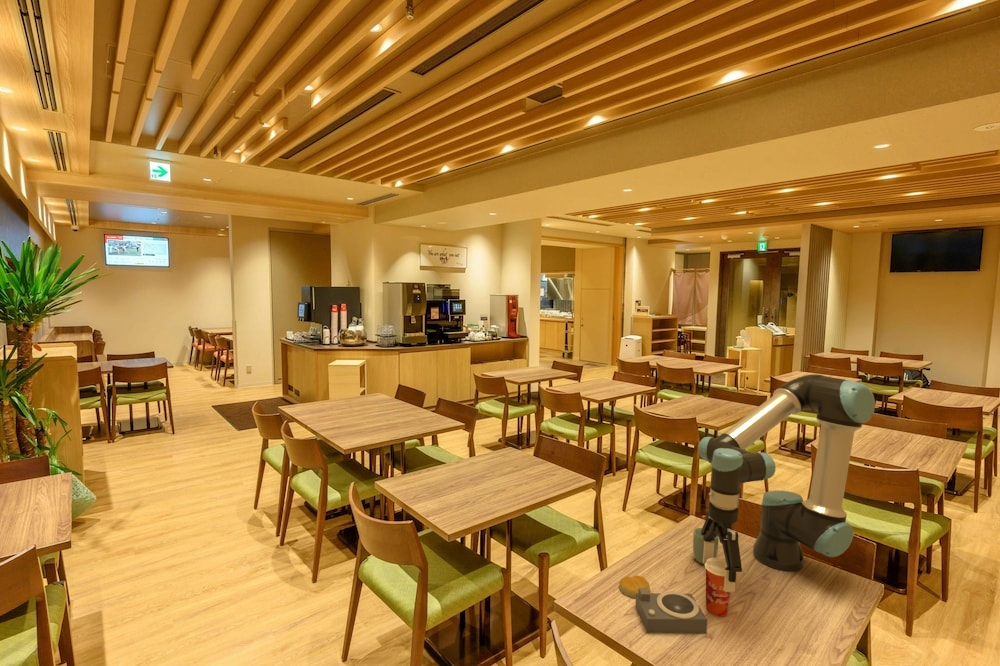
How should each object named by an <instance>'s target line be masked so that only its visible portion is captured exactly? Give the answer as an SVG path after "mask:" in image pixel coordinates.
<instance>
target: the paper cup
mask: <svg viewBox="0 0 1000 666" xmlns="http://www.w3.org/2000/svg"><path fill="white" fill-rule="evenodd" d="M725 567H727V563H726V559H723V558H720V557H717V558H709V559H708V560H707V561H706V563H705V564H704V568H705V609H706V611H707V612H708V613H709V614H711V615H713V616H715V617H725V616H727V615H728V610H729V605H730V604H729V602H730V596H731V592H725V591H724V579H725Z"/></svg>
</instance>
